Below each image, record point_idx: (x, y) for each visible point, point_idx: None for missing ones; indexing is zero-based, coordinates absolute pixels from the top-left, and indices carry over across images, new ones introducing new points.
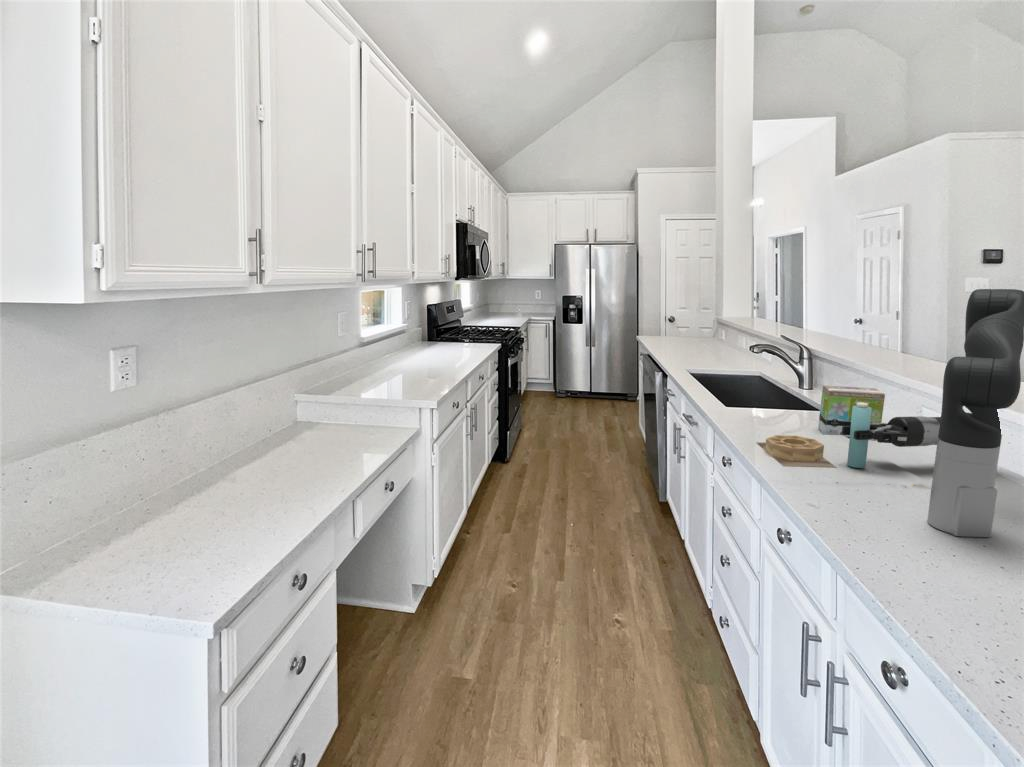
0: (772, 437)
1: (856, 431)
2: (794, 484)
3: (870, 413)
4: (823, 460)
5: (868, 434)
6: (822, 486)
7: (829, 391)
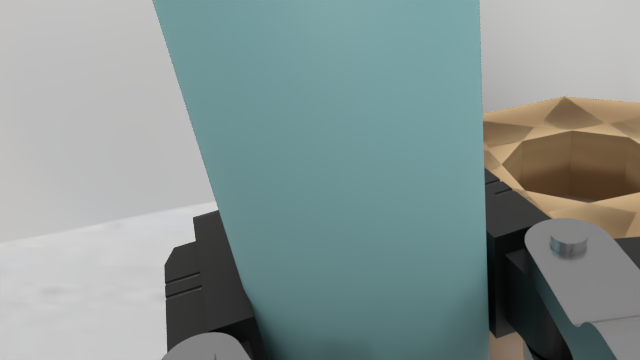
0: (609, 105)
1: (203, 216)
2: (150, 254)
3: (190, 29)
4: (511, 351)
5: (173, 336)
6: (111, 331)
7: None
